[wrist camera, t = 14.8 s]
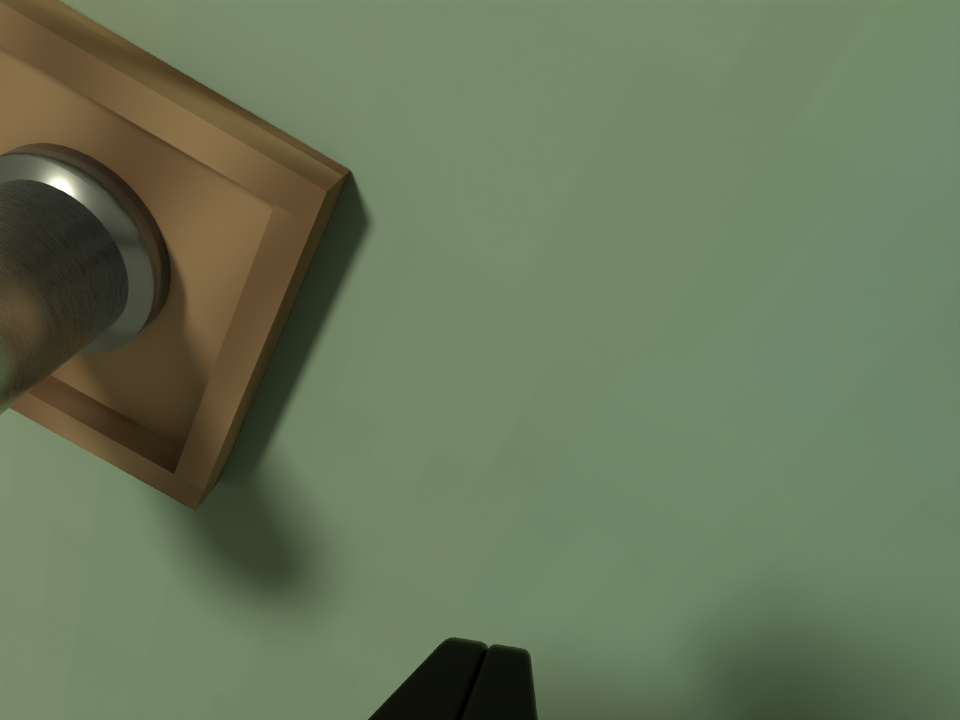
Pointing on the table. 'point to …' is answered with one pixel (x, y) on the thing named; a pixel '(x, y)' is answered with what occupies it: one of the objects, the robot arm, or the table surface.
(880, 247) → the table surface
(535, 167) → the table surface
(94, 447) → the walnut keeper tray
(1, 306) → the glass jar
